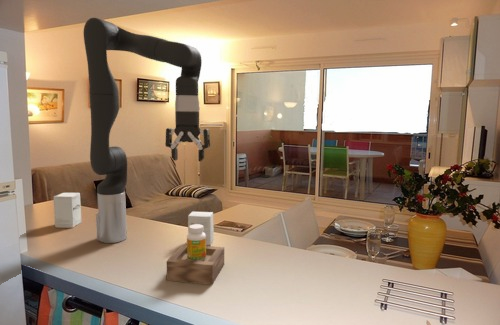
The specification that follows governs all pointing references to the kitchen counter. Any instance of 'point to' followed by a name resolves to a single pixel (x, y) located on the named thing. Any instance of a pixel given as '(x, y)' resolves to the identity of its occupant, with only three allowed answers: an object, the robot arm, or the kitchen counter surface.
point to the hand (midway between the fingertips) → (188, 160)
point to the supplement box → (67, 210)
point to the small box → (204, 220)
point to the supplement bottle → (196, 243)
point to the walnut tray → (195, 266)
